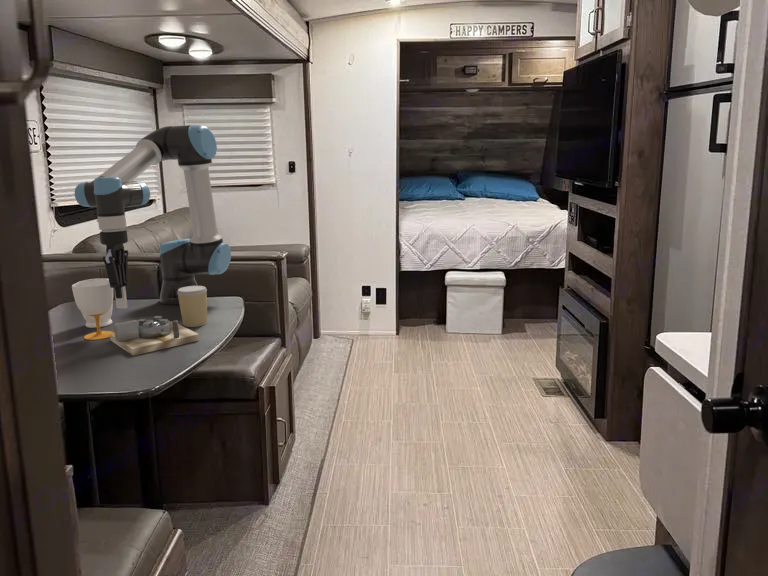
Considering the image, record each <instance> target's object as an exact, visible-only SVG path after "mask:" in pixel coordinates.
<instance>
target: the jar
mask: <svg viewBox="0 0 768 576" xmlns="http://www.w3.org/2000/svg"><path fill="white" fill-rule="evenodd" d="M100 279H103V280H109V279H108V278H103V277H102V278H101V277H100V278H99V277H98V278H90V279H84V280H80V281H78V282H83V281H89V280H100ZM78 282H76V283H78ZM113 307H114V305H113V304H112V306H111V308H110V309H109V310H108V311H107V312H106V313H104V314H102V315H100V316H99V323H100V328H103V327H107V326H110V325H113V320H112V319H111V318H112V315H113ZM81 315H82V317H83V319H84V320H85V321H86V322H85V327H86V328H90V329H97V327H96V320H95V317H94V316H89V315H86V314H83V313H82V312H81Z"/></svg>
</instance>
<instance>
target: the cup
mask: <svg viewBox="0 0 768 576" xmlns="http://www.w3.org/2000/svg"><path fill="white" fill-rule="evenodd" d="M88 280H89V279H88ZM82 281H83V282H80V281H78V283H77V282H76V283H73V284H72V285H71V289H72V294H73V298H74V302H75V304H76V307H77V308H78V309H79V311H80V312H81V314H82V313H83V314H86V315H89V316H94V317H95V320H96V327H97V328H96V332H95V331H94V332H91V333H88V334H86V335H84V337H83V339H84V340H86V341H99V340H106V339H110V334H114V333H115V331H111V330H101V327H100V323H99V316H100V315H102V314H104V313H106V312H107V311H108V310H109V309H110V308H111V306H112V304H113V303H114V302H113V301H114V288H111V287H110V283H109V280H103V279H100V280H89V281H84V280H82ZM112 307H113V306H112Z"/></svg>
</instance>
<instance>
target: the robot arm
mask: <svg viewBox="0 0 768 576" xmlns="http://www.w3.org/2000/svg"><path fill="white" fill-rule="evenodd" d="M217 149H218V147H217V140H216V137H215V136H214V134H213V132H212V130H210V128H209V127H207V126H205V125H201V124H200V125H198V124H191V125H190V124H188V125H170V126H169V125H168V126H163V127H160V128H158V129H155V130H154V131H152V132H150V133H149V134H147V135H145V136H144V137H143V138H141V139H140V140H139V141H137V143H136V145H135V148H132V150H130V151H129V152H128V153H127V154H125V156H123V157H122V158H121V159H119V160H118V161H117V162H115V163H114V164H113V165H112V166H110V167H109V168H108V169H106V170H105V171H104V172H103V173H101V174H100V175H98V176H97V177H95V178H94V179H93V180H92V181H90V182H88V181H86V182H81V183H78V184H77V185H76V186H75V189H74V198H75V201H76V202H77V204H78V205H80V206H82V207H85V208H86V207H87V208H96V213H97V214H96V215H97V220H96V222H97V223H98V224H97V225H98V230H100V232H98V233H99V239H100V242H99V243H100V244H101V245H105V246H106V249H105V253H106V255H105V256H103V257H102V261H103V263H104V266H105V270H106V273H107V279H109V283H110V287H111V288H113V291H114V298H115V305H116V309H127V308H128V300H127V291H126V290H127V289H126V287H127V286H129V264H128V260H129V250H128V249H127V250H126V249H125V246H124V244H126V243H128V241H129V238H128V231H127V230H126V228H127V226H128V225H127V222H126V221H127V220H126V218H127V217H126V214H125V212H126V211H125V208H131V207H132V208H133V207H141V206H144V205H146V204H148V202H149V201H150V199H151V190H150V188H149V186H148V184H146V183H145V182H143V181H137V180H136V179H137V178H138V177H139V176H140V175H142V174H143V173H144V172H145V171H146V170H147V169H149V168H150V167H151V166H156V165H158V164H159V163H160V162H163V161H171V160H177V164H178V167H179V168H181V169H182V171H183V175H184V182H185V187H186V188H185V189H186V194H187V203H188V208H189V209H188V210H189V214H190V221H191V229H192V235H193V236H192V237H191V238H181V239H180V238H179V239H176V240H170V241H166V242H163V243H161V244H159V259H160V260H159V261H160V268H161V277H162V285H161V290H160V294H159V301H160V304H162V305H180V304H179V298H178V294H177V291H178V289H180V288H182V287H187V286H199V285H198V283H197V281H196V279H195V275H211V276H214V275H222V274H223V273H226V271H227V269H228V268H229V265H230V263H231V259H232V251H231V247H230V245H229V244H228V243H226V242H224V240H223V236H222V235H221V234H219V233H218V228H217V227H218V226H217V221H216V213H215V212H216V211H215V207H214V200H213V199H214V198H213V192H212V191H213V190H212V184H211V177H210V170H209V167H210V166H212V163H213V160H212V159H213V158H215V157H216V155H217ZM134 180H135V181H134Z"/></svg>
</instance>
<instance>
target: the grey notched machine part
mask: <svg viewBox="0 0 768 576" xmlns="http://www.w3.org/2000/svg"><path fill="white" fill-rule="evenodd" d="M170 322H171V321H170V320H169V319H168V318H163V316H162V315H155V316H153V317H152V319H149V320H147V319H146V318H143V319H141V318H140V319H133V320H127V321H123V322H118V323H113V329H114V330H113V332H114V333H115V338H116V341H118V342H121V341H126V340H130V339H135V338H156V337H161V336H165V335H168V334H169V333H171V326H170Z"/></svg>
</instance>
